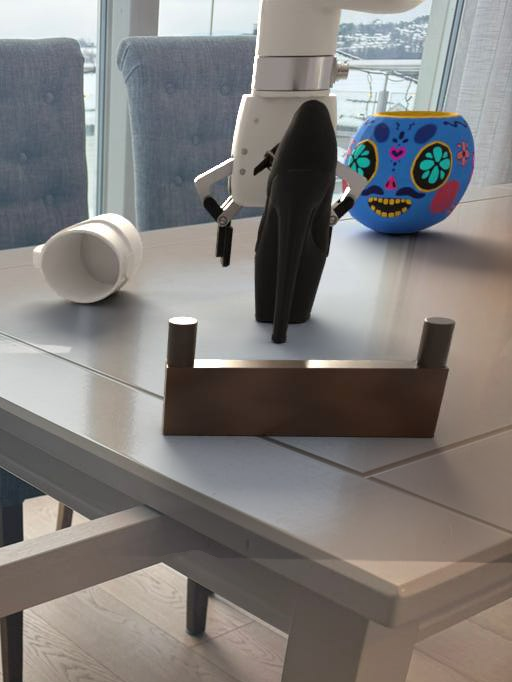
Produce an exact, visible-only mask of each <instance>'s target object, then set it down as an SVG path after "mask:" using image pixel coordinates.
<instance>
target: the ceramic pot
mask: <svg viewBox="0 0 512 682" xmlns="http://www.w3.org/2000/svg"><path fill="white" fill-rule="evenodd" d="M474 141H475V140H474V136H473V133H472V130H471V127H470V125H469V123H468V122H467V120H466V119H465V118H464V116H463V115H462V114H460V113H458V112H457V113H456V112H450V111H438V110H396V111H395V110H394V111H392V110H391V111H382V112H381V111H380V112H375V113H373V114H371V115H370V116H369V117H368V118H367V119H365V121H363V122H362V124H361V125H360V126H359V128H358V129H357V130H356V132H355V133H354V135H353V137H352V138H351V140H350V143H349V145H348V148H347V150H346V153H345V156H344V159H343V163H342V164H344V165H346V166H347V167H349V168H351V169H352V170H354V171H356V172H357V173H359V174H360V175H362V176H364V177H365V178H366V179H367V184H366V186H365V188H364V189H363V191H362V192H361V194H360V195H359V197H358V199H356V201H355V203H354V206H353V207H352V208H351V209H350V210H349V211H348V213H349V215H350V216H351V217H352V218H353V219H354V220H355V221H356V222H358V223H360V224H361V225H363V226H364V227H366V228H367V229H370V230H372V231H375V232H379V233H385V234H394V235H395V234H398V235H399V234H401V235H402V234H413V233H416V232H417V233H418V232H421V231H424V230H427V229H428V228H430V227H433V226H435V225H437V224H439V223H441V222H443V221H445V220H446V219H448V217H449V216H450V215H451V214H452V213H453V211H454V210H455V209H456V208H457V206H458V205H459V203H460V202H461V200H462V199H463V197H464V195H465V194H466V192H467V189H468V188H469V185H470V182H471V181H472V178H473V175H474V170H475V158H476V157H475V153H476V151H475V142H474ZM347 187H348V184H347V182H345V181H344V180H342V179H341V188H342V189H341V190H342V196H343V195H344V193H345V192H346V189H347Z"/></svg>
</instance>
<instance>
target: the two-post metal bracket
mask: <svg viewBox="0 0 512 682" xmlns="http://www.w3.org/2000/svg"><path fill="white" fill-rule="evenodd" d="M198 324H199V323H198V320H197V319H196V318H193V317H189V316H188V317H186V316H178V317H172V318H170V319H169V320H168V328H167V329H168V330H167V343H166V344H167V346H166V359H165V363H164V365H165V366H164V383H163V396H162V397H163V398H162V400H163V401H162V413H161V414H162V416H161V429H162V435H163V436H167V435H169V436H171V435H172V436H257V437H258V436H261V437H262V436H266V437H267V436H268V437H269V436H274V437H276V436H279V437H280V436H281V437H368V438H369V437H370V438H371V437H375V438H377V437H378V438H379V437H381V438H382V437H383V438H385V437H386V438H387V437H388V438H390V437H391V438H435V433H436V430H437V425H438V421H439V416H440V412H441V407H442V402H443V399H444V393H445V391H446V385H447V380H448V377H449V373H450V368H449V367H448V366H447V363H448V359H449V355H450V350H451V345H452V342H453V337H454V332H455V328H456V321H455V320H454V319H452V318H449V317H442V316H432V317H426V318H425V319H424V322H423V325H422V331H421V336H420V340H419V345H418V350H417V356H416V360H414V359H413V360H412V359H406V360H405V359H402V360H401V359H399V360H398V359H397V360H396V359H196V349H197V347H196V346H197V336H198Z"/></svg>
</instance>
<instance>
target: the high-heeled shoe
mask: <svg viewBox="0 0 512 682" xmlns="http://www.w3.org/2000/svg"><path fill="white" fill-rule="evenodd" d="M338 151H339V150H338V140H337V134H336V135H335V131H334V128H333V125H332V121H331V117H330V113H329V111H328V108H327V107H326V105H325V104H324V103H322V102H320V101H318V100H309V101H306V102H304V103H302V105H301V106H300V107H299V108H298V110H297V111H296V112H295V114H294V116H293V118H292V120H291V123H290V125H289V127H288V128H287V130H286V132H285V134H284V136H283V138H282V140H281V142H280V143H278V144H277V145H276V146H275V147H273V148H272V149H271V150H270V151H269V150H268V151H266V153H265V155H264V157H263V158H264V160H263V161H262V162H260V163H259V164H258V165H257V166H256V167H255V168H254V172H253V175H254V176H256V175H257V174H258V173H259V172H261V171H262V170H264V169H265V168H267V169H268V170H269V171H270V174H269V178H268V182H267V189H266V190H267V199H266V204H265V207H264V210H263V213H262V216H261V218H260V220H259V221H260V222H259V226H258V229H257V235H256V237H257V238H256V242H255V246H254V253H255V254H254V257H253V258H254V259H253V260H254V261H253V263H254V268H253V269H254V271H253V273H254V318H255V320H256V321H260V322H272V323H273V324H272V334H271V337H270V341H272V342H275V343H285V342H287V338H288V334H287V332H288V327H289V323H304V322H307V321H309V320H310V318H311V312H312V310H313V306H314V303H315V300H316V297H317V294H318V290H319V286H320V282H321V280H322V275H323V272H324V268H325V266H326V261H327V258H328V257H327V252H328V245H329V227H330V218H331V206H332V202H333V196H334V192H335V187H336V180H337V176H336V167H337V160H338V156H339V155H338ZM267 153H268V154H267ZM270 167H271V169H270Z"/></svg>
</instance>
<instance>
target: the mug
mask: <svg viewBox="0 0 512 682" xmlns="http://www.w3.org/2000/svg"><path fill="white" fill-rule="evenodd" d="M142 242H143V241H142V239H141V235H140V233H139V231H138V230H137V228H136V226H135V225H134V224H133V223H132V221H130V220H128V219H127V218H125V217H123V216H122V215H119V214H116V213H104V214H99V215H96V216H94V217H92V218H88V219H86V220H84V221H81V222H78V223H75V224H73V225H70V226H68V227H65V228H63V229H61V230H59V231H58V232H56V233H54V235H52V236H51V237H50V238H48V239H47V241H46V242H45V243H43V244H40V245H38V246H36V247H35V248H33V251H32V264H33V267H34V268H35V269H37V270H39V273H40V277H41V278H42V280H43V281H44V283H45V284H46V285H47V286H48V288H49V289H50V290H51V291H52V292H53V293H55V294H56V295H57V296H58V297H60V298H62V299H64V300H66V301H70V302H73V303H79V304H90V303H91V304H92V303H96V302H99V301H101V300H104V299H105V298H107V297H109V296H110V295H111V294H114V293H116V292H118V291H120V290H121V289H122V288H123V287H124V286H125V285H126V284H128V282H130V281H131V280H132V279H133V278H134V277H135V276H136V274H137V273H138V271H139V269H140V267H141V264H142V261H143V255H144V254H143V253H144V250H143V249H144V248H143V243H142Z"/></svg>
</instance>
